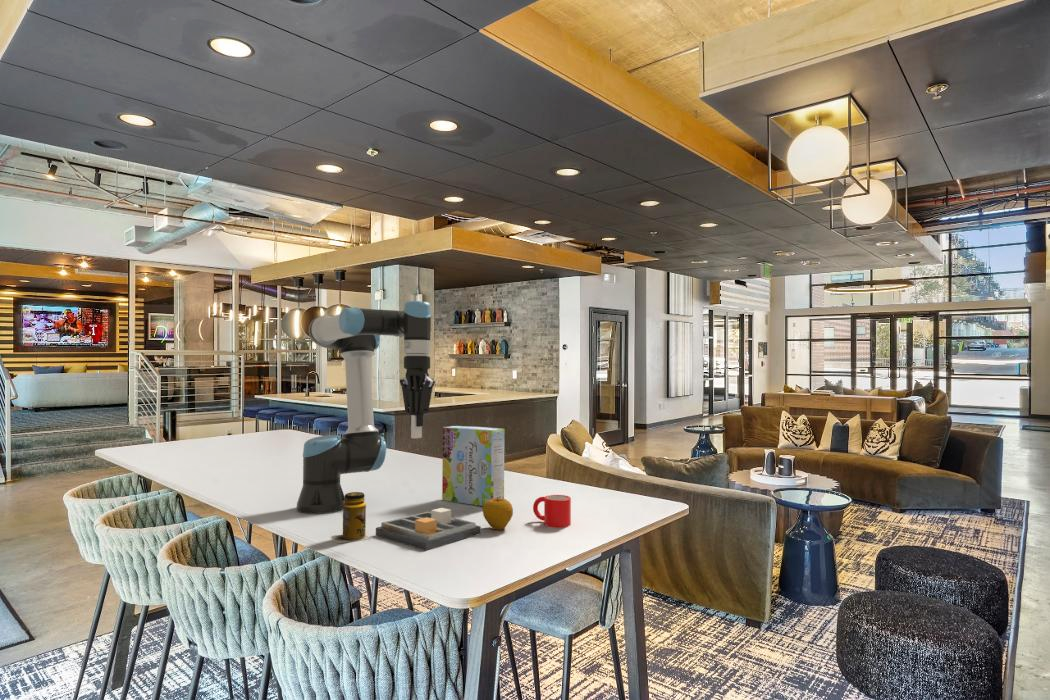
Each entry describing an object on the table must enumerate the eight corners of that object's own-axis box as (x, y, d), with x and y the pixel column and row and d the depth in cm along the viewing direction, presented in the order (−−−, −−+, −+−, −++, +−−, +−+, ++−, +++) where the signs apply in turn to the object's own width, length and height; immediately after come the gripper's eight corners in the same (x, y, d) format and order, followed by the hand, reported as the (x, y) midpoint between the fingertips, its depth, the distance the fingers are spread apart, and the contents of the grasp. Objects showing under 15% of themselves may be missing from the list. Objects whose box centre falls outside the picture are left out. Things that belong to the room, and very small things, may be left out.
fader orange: (415, 533, 160) (415, 520, 160) (426, 530, 163) (426, 517, 163) (425, 536, 157) (425, 522, 157) (436, 532, 160) (436, 519, 161)
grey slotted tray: (375, 535, 166) (375, 523, 166) (430, 520, 181) (430, 510, 181) (425, 550, 153) (425, 537, 153) (480, 533, 168) (480, 522, 168)
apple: (477, 526, 176) (477, 495, 176) (506, 523, 179) (506, 493, 179) (488, 534, 167) (488, 502, 168) (517, 531, 171) (517, 499, 171)
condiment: (370, 539, 163) (370, 494, 163) (338, 544, 158) (339, 498, 158) (361, 532, 169) (362, 489, 169) (331, 537, 164) (331, 493, 164)
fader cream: (431, 522, 171) (431, 510, 171) (441, 519, 174) (441, 507, 174) (440, 525, 168) (440, 512, 168) (451, 522, 171) (451, 509, 171)
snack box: (506, 503, 204) (506, 428, 205) (491, 508, 197) (491, 430, 198) (456, 496, 216) (456, 424, 217) (440, 500, 209) (441, 426, 209)
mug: (537, 517, 186) (537, 492, 186) (574, 522, 181) (574, 496, 181) (527, 524, 179) (527, 497, 179) (565, 528, 174) (565, 501, 174)
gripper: (392, 355, 173) (391, 437, 172) (421, 354, 165) (421, 441, 164) (412, 355, 179) (412, 434, 178) (442, 355, 170) (441, 438, 170)
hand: (416, 437), depth 171 cm, fingers closed
